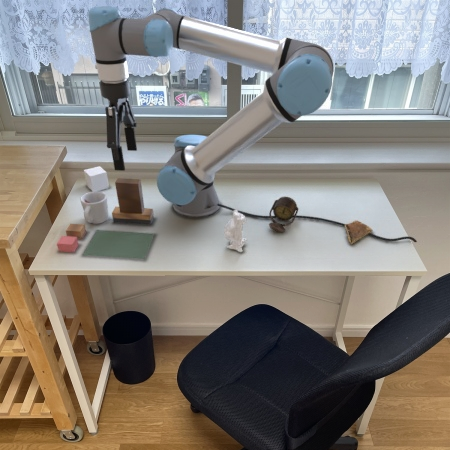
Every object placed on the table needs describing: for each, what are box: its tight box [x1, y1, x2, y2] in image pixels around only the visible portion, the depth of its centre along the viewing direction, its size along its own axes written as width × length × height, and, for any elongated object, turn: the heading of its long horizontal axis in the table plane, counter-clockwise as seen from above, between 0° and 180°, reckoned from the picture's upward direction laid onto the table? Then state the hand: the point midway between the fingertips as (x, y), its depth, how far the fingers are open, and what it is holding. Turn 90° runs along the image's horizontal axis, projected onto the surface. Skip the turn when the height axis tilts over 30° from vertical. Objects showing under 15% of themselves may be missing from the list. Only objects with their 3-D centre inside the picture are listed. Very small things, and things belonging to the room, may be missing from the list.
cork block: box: [65, 223, 87, 240], centre depth 132 cm, size 4×4×3 cm
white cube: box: [83, 165, 110, 192], centre depth 155 cm, size 6×6×6 cm
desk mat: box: [82, 229, 156, 260], centre depth 129 cm, size 18×13×1 cm
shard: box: [344, 220, 373, 245], centre depth 134 cm, size 11×8×2 cm
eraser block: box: [56, 235, 80, 253], centre depth 127 cm, size 4×4×3 cm
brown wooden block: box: [111, 177, 155, 226], centre depth 135 cm, size 12×4×14 cm, turn 84°
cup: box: [79, 191, 109, 225], centre depth 136 cm, size 11×8×8 cm
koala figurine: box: [223, 209, 248, 253], centre depth 125 cm, size 8×7×12 cm
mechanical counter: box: [268, 196, 299, 233], centre depth 137 cm, size 7×13×10 cm
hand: (126, 159), depth 126 cm, fingers open, 13 cm apart
